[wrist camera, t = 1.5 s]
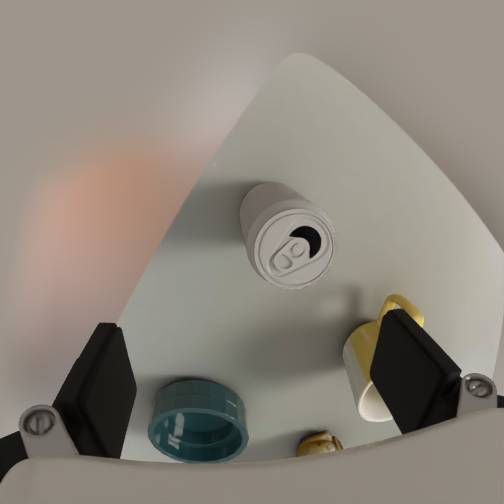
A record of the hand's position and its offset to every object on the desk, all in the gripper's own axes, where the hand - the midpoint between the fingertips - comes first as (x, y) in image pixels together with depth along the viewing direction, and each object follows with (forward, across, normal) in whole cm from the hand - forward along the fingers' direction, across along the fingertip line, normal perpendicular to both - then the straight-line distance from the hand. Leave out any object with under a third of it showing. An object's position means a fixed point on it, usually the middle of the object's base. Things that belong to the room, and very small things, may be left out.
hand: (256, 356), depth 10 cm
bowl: (+22, +6, +27) cm, 35 cm away
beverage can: (+23, -4, 0) cm, 23 cm away
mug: (+23, -18, +15) cm, 32 cm away
